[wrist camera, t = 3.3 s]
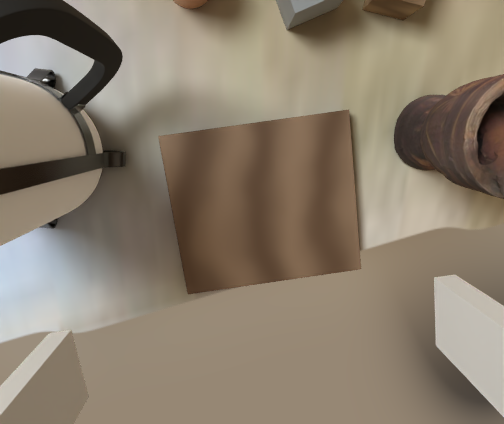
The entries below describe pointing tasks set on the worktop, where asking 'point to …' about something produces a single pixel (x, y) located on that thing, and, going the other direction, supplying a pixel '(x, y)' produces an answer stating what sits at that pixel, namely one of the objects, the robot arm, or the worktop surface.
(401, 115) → the mortar and pestle
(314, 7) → the slate grey cube
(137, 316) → the worktop surface
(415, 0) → the dark oak block
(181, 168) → the walnut board
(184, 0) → the terracotta capsule
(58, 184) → the coffee press
